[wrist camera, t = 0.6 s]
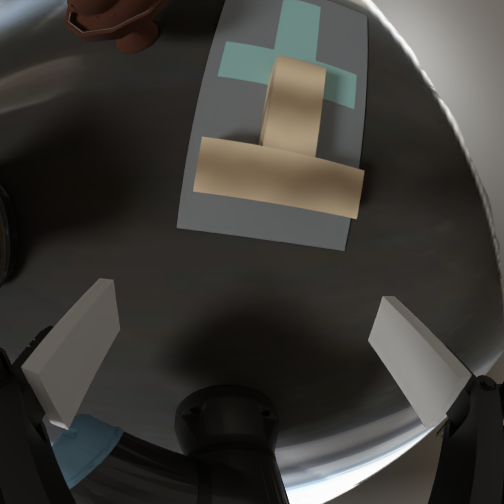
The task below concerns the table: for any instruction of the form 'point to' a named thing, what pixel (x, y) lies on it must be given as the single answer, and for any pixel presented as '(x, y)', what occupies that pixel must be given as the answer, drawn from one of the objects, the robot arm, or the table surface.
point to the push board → (252, 105)
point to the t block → (283, 151)
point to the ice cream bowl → (116, 21)
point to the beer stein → (7, 236)
